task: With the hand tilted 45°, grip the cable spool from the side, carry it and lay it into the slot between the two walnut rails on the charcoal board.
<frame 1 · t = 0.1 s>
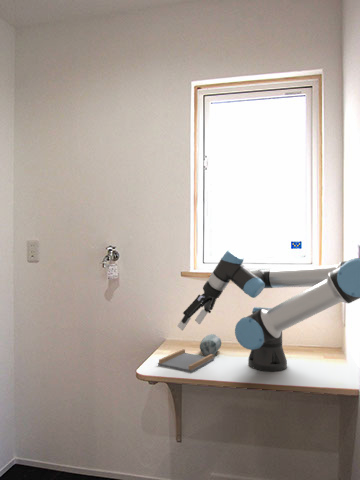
hand: (189, 325, 158), 15 cm above the table, fingers open, 13 cm apart
slot board: (186, 363, 156), on the table
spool: (210, 354, 169), on the table
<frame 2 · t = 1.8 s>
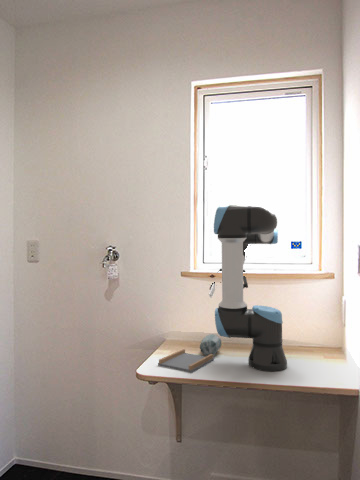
hand: (222, 297, 180), 24 cm above the table, fingers open, 13 cm apart
nothing on the table moved.
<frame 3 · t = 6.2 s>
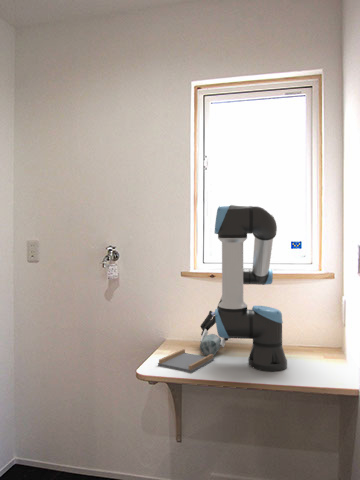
hand: (211, 344, 170), 4 cm above the table, fingers closed on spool, 9 cm apart
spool: (210, 354, 169), on the table, touching gripper
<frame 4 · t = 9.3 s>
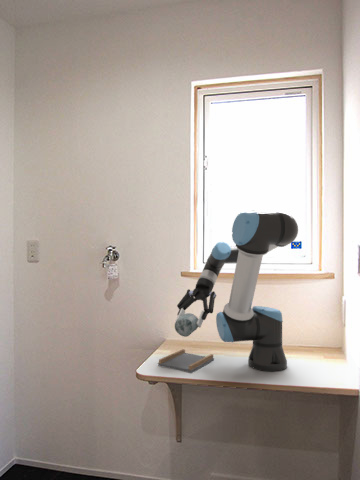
hand: (187, 324, 157), 16 cm above the table, fingers closed on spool, 9 cm apart
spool: (186, 334, 156), point 12 cm above the table, touching gripper
when the fingers open (6 cm above the table, at t = 12.4 s): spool drops 1 cm, resting on slot board.
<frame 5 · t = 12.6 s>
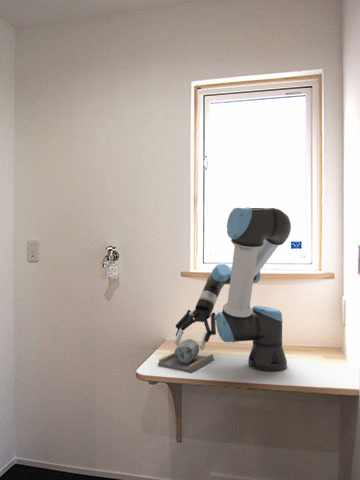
hand: (188, 345, 157), 7 cm above the table, fingers open, 11 cm apart
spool: (187, 361, 156), point 1 cm above the table, touching slot board
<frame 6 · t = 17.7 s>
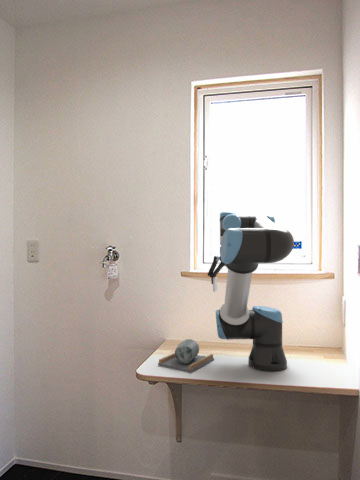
hand: (228, 292, 174), 27 cm above the table, fingers open, 13 cm apart
nothing on the table moved.
at the end: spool 0.1 cm off-centre on the slot board, point 0.8 cm above the slot board's base; the gripper is holding nothing; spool tilted 0° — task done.
